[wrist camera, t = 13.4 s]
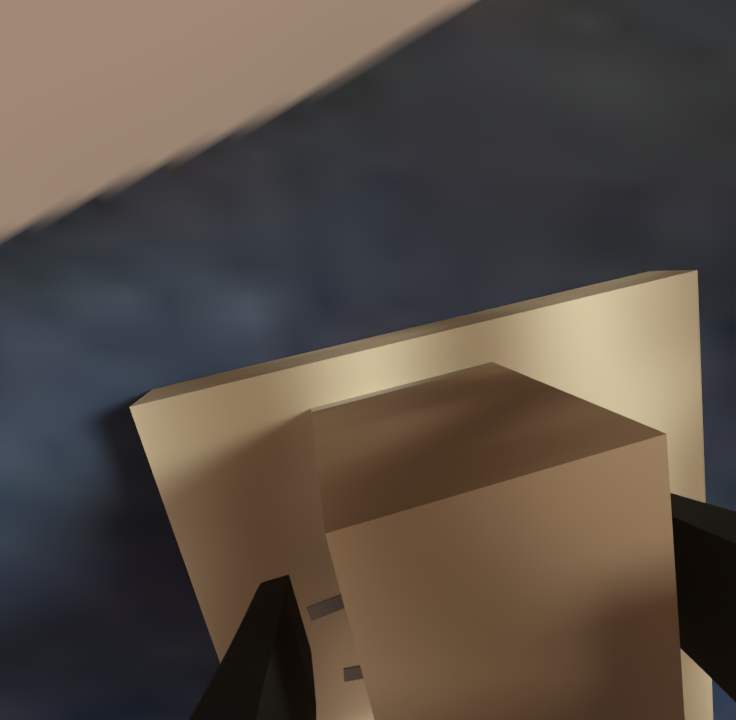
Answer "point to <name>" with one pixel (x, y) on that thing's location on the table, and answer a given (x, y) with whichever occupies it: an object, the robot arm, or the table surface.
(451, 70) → the table surface
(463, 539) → the block
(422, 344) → the board
